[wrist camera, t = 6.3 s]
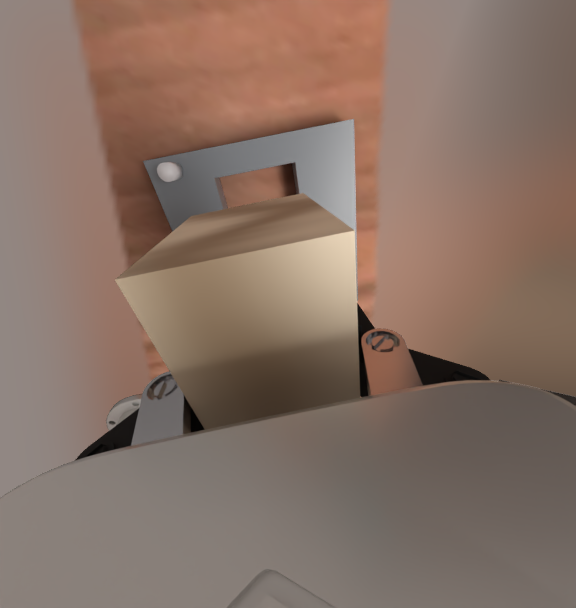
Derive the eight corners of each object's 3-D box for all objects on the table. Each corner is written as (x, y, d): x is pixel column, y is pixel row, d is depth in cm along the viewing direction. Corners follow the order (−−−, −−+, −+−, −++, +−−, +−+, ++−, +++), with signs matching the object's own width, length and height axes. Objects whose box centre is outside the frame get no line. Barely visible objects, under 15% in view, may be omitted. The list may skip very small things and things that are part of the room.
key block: (303, 193, 10) (354, 230, 4) (326, 370, 15) (362, 483, 10) (191, 215, 10) (114, 279, 4) (253, 385, 15) (250, 506, 10)
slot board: (350, 289, 29) (364, 310, 25) (216, 316, 29) (209, 340, 25) (344, 122, 20) (363, 115, 16) (155, 160, 20) (131, 161, 17)
